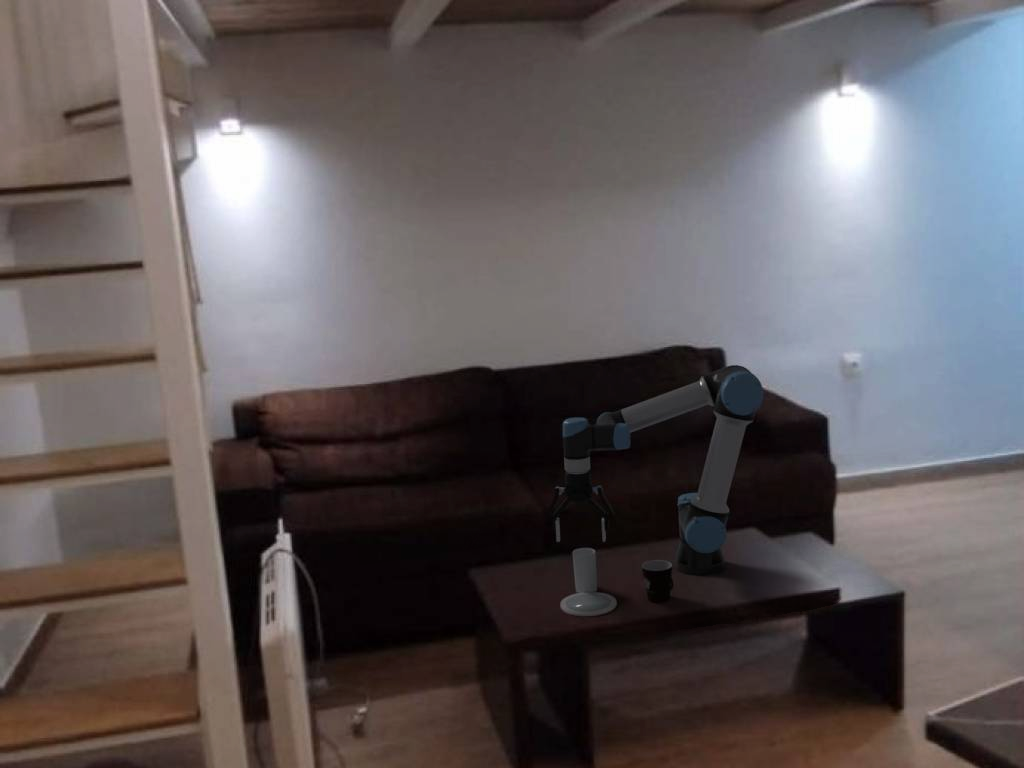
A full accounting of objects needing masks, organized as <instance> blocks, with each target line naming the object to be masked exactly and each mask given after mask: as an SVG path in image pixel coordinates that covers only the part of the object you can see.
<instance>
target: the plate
mask: <svg viewBox="0 0 1024 768" xmlns="http://www.w3.org/2000/svg"><path fill="white" fill-rule="evenodd" d="M617 605H618V604H617V599H616V598H615V597H614V596H612V595H611V594H608V593H604V592H598V591H596V592H583V593H578V592H576V593H574V594H571V595H568V596H566V597H565V598H563V599H562V600H561V601H560V610H561V611H562V612H563V613H566V614H567V615H570V616H575V617H597V616H602V615H605V614H608V613H611V612H612V611H614V609H616V607H617Z"/></svg>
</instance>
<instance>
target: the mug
mask: <svg viewBox="0 0 1024 768" xmlns="http://www.w3.org/2000/svg"><path fill="white" fill-rule="evenodd" d="M596 555H597V554H596V550H595V549H594V548H590V547H581V548H576V549H574V550H573V551H572V561H573V562H572V563H573V571H574V572H573V573H574V574H573V575H574V585H575V592H576V593H583V592H598V582H597V579H598V578H597V557H596Z"/></svg>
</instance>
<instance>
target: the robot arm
mask: <svg viewBox="0 0 1024 768" xmlns="http://www.w3.org/2000/svg"><path fill="white" fill-rule="evenodd" d="M763 399H764V390H763V385H762V383H761V381H760V379H759V378H758V377H757V375H755V374H753V373H752V371H750V370H749V369H748V368H747V367H744V366H743V365H739V364H738V365H737V364H733V365H728V366H724V367H721V368H720V369H718V370H714V371H712V372H709V373H708V374H704V375H701V377H700V379H699V380H698V381H695V382H693V383H690V384H688V385H685V386H682V387H679V388H677V389H674V390H670V391H668V392H665V393H663V394H659V395H658V396H655V397H652V398H649V399H646V400H644V401H641V402H638V403H636V404H633V405H631V406H628V407H625V408H622V409H620V410H617V411H614V412H613V411H612V412H608V411H607V412H604V413H601V414H600V415H599V416H598V418H597V419H596V420H597V421H596V423H595V424H589V420H588V419H587V418H586V417H569V418H566V419H565V420H564V421H563V422H562V444H563V445H562V447H563V459H564V460H563V461H564V462H563V465H564V470H565V472H564V478H565V479H564V480H565V481H564V482H565V487H560V486H559V485H557V486H556V487H555V489H554V496H553V499H552V501H551V503H550V505H549V507H548V509H547V511H546V513H545V518H546V519H549V520H551V528H552V531H555V537H556V538H555V539H556V543H560V541H561V528H560V527H561V526H560V517H559V515H560V514H561V513H562V512H563V511H564V510H565V508H567V506H568V505H569V503H571V502H572V503H585V502H587V503H588V505H589V504H590V506H592V507H593V508H594V510H595V512H597V514H599V515H600V516H601V535H602V538H601V539H602V543H603V542H604V543H605V542H606V540H607V536H606V535H607V534H606V532H607V531H608V530H609V528H610V521H609V520H610V519H611V518H612V519H613V518H614V517H615V511H614V509H613V507H612V506H611V504H610V502H609V501H608V498H607V497H606V495H605V493H604V490H603V486H602V485H600V484H599V485H597V486H592V475H591V457H590V455H591V454H590V451H592V452H593V451H614V450H615V451H616V450H617V451H620V450H627V449H629V448H630V447H631V433H633V432H636V431H638V430H639V431H640V430H641V429H644V428H646V427H647V428H648V427H650V426H653V425H655V424H658V423H661V422H664V421H667V420H669V419H672V418H676V417H678V416H680V415H684V414H686V413H688V412H692V411H694V410H697V409H699V408H703V407H705V406H710V407H713V410H712V411H713V413H714V415H715V417H716V420H715V424H714V428H713V431H712V432H713V433H712V436H711V439H710V443H709V448H708V451H707V455H706V459H705V463H704V465H703V467H704V468H703V471H702V475H701V479H700V483H699V486H698V491H697V492H689V493H684V494H681V495H679V496H678V498H677V507H678V526H679V545H678V548H677V552H676V555H675V561H674V563H675V569H676V570H677V571H679V572H681V573H684V574H690V575H710V574H716V573H719V572H721V571H723V570H724V569H725V567H726V559H725V556H724V553H723V550H722V547H723V545H724V544H725V542H726V539H727V528H726V526H727V522H728V518H729V515H730V508H729V506H728V505H727V500H728V497H729V492H730V489H731V486H732V481H733V477H734V474H735V471H736V467H737V462H738V458H739V455H740V451H741V447H742V443H743V440H744V436H745V433H746V428H747V426H748V425H750V424H751V423H753V422H754V418H755V415H756V412H757V410H758V409H759V408H760V406H761V404H762V402H763ZM593 492H594V493H595V495H598V498H599V500H600V501H601V503H602V505H603V507H604V508H605V509H604V508H603V507H602V506H601V505H600V504H599V502H598V501H596V500H595V499H594V497H593V496H592V493H593ZM563 493H564V494H565V495H566V496H567V497H565V499H564V500H563V502H561V504H560V506H559V507H558V508H557V509H556V510H555V511H554V513H552V512H553V510H554V508H555V506H556V504H557V501H558V499H559V496H561V495H562V494H563Z"/></svg>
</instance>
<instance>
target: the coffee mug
mask: <svg viewBox="0 0 1024 768" xmlns="http://www.w3.org/2000/svg"><path fill="white" fill-rule="evenodd" d="M641 571H642V574H643V575H642V576H643V581H644V587H645V590H646V591H645V592H646V599H647V601H648V602H650V603H655V604H659V603H660V604H662V603H666V602H669V601H670V600H671V591H672V590H673V588H674V580H673V578H672V576H673V575H672V573H673V564H672V563H671V562H670V561H667V560H664V559H663V560H661V559H655V560H648V561H645V562H643V563H642V564H641Z"/></svg>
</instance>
